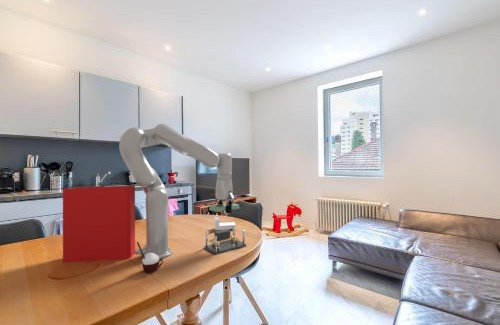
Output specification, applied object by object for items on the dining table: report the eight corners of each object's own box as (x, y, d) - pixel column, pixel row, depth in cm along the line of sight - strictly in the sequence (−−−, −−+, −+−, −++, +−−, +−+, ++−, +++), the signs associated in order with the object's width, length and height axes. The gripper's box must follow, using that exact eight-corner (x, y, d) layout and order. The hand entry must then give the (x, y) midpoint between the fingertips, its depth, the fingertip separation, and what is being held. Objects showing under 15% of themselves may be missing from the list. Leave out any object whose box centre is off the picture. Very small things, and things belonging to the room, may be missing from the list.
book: (62, 262, 100) (62, 188, 100) (74, 255, 107) (74, 186, 108) (129, 259, 103) (129, 187, 103) (136, 252, 111) (135, 185, 111)
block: (218, 240, 127) (218, 233, 127) (214, 238, 130) (214, 231, 130) (230, 237, 132) (230, 230, 132) (226, 236, 135) (226, 229, 135)
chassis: (215, 254, 107) (214, 237, 107) (204, 247, 116) (204, 232, 116) (246, 246, 118) (246, 230, 118) (234, 240, 127) (234, 225, 127)
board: (216, 212, 112) (216, 206, 112) (209, 209, 117) (209, 204, 117) (239, 208, 121) (239, 203, 121) (231, 206, 126) (231, 201, 126)
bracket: (215, 231, 144) (215, 219, 145) (214, 228, 151) (214, 217, 151) (235, 230, 147) (235, 218, 147) (234, 227, 154) (234, 216, 154)
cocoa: (163, 267, 95) (164, 237, 96) (160, 273, 89) (161, 242, 90) (138, 268, 93) (140, 238, 94) (133, 275, 87) (135, 242, 88)
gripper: (209, 177, 124) (209, 210, 123) (227, 178, 110) (227, 215, 110) (221, 176, 128) (221, 208, 128) (240, 177, 115) (240, 213, 115)
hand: (224, 211), depth 119 cm, fingers closed on board, 7 cm apart
